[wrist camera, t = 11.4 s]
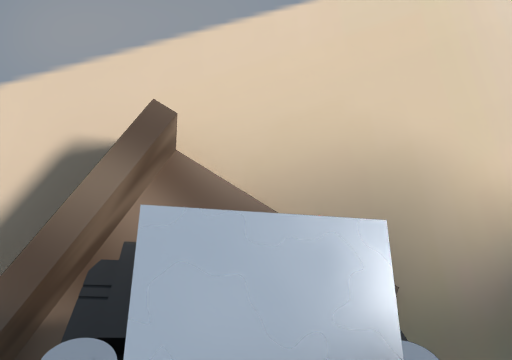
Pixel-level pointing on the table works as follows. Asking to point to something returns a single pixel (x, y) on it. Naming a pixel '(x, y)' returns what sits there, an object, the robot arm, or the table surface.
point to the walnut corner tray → (103, 228)
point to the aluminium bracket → (261, 287)
